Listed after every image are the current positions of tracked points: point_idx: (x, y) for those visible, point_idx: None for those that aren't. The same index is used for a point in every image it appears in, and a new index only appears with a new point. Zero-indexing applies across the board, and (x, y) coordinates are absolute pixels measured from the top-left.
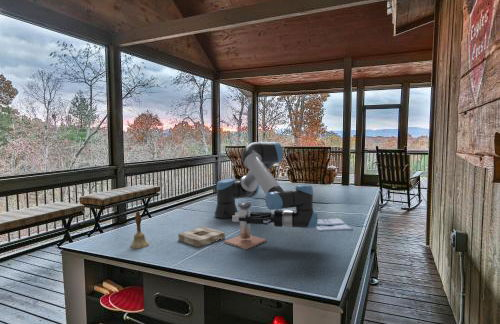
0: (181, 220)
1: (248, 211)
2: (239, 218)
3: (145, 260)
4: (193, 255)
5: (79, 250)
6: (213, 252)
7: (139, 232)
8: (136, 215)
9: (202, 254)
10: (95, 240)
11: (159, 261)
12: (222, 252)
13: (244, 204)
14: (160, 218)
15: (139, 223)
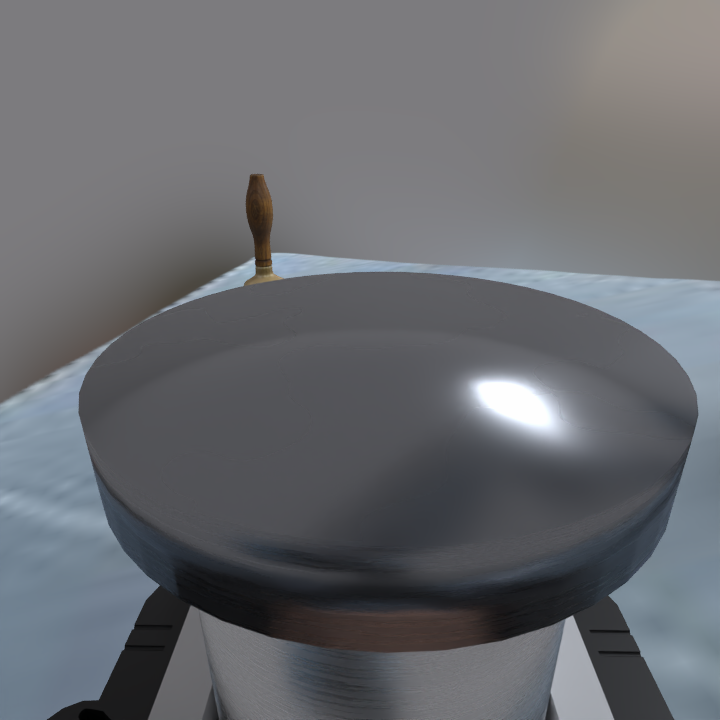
0: (692, 331)
1: (255, 704)
2: (151, 601)
3: (62, 381)
4: (41, 517)
5: (229, 271)
6: (50, 629)
7: (256, 273)
8: (247, 190)
9: (36, 562)
10: (321, 267)
11: (19, 417)
12: (10, 716)
13: (230, 356)
14: (650, 287)
15: (254, 231)
